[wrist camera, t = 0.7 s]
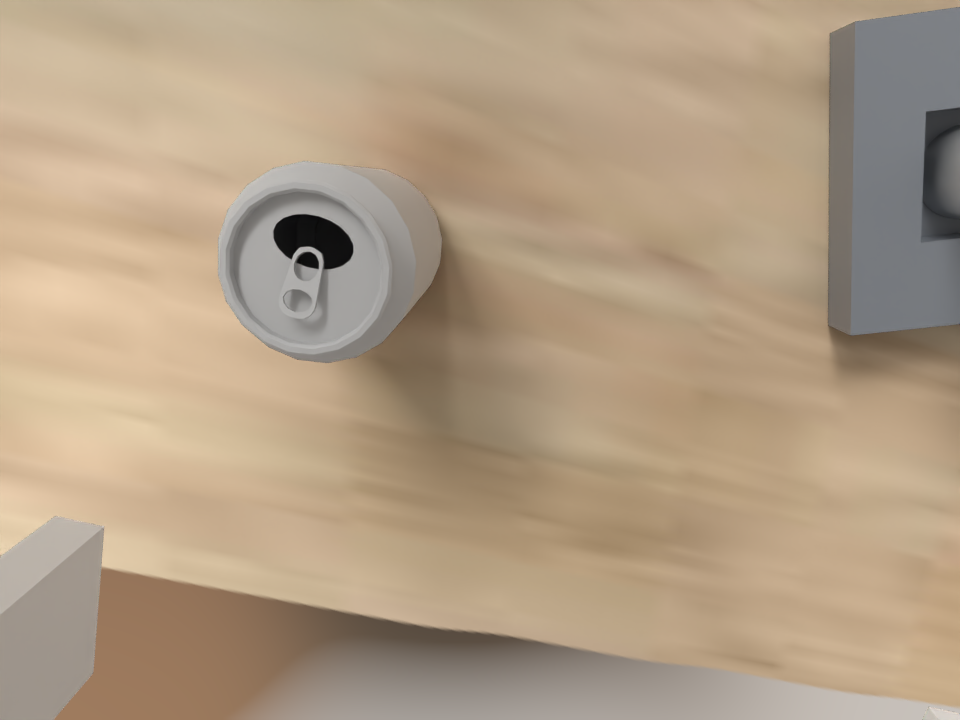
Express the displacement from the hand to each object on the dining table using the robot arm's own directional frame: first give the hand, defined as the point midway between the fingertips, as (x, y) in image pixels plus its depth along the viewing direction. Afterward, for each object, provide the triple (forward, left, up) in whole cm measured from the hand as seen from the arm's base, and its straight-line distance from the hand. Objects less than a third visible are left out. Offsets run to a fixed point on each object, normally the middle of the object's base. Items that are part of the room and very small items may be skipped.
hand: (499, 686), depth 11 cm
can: (-6, -7, -26) cm, 28 cm away
